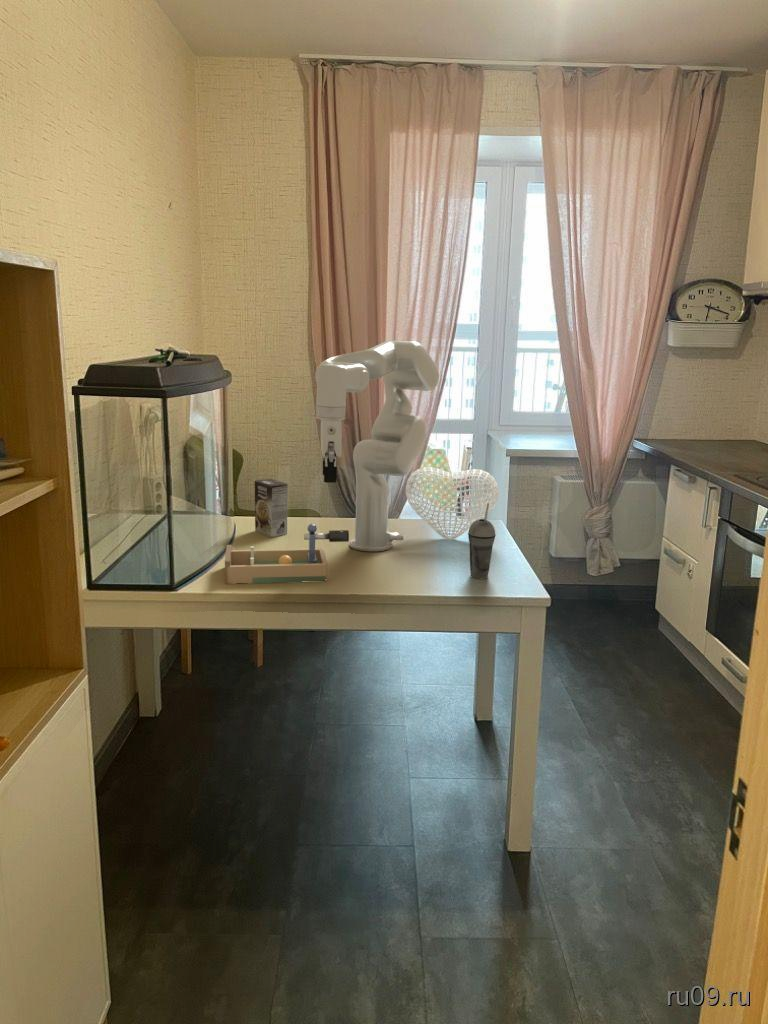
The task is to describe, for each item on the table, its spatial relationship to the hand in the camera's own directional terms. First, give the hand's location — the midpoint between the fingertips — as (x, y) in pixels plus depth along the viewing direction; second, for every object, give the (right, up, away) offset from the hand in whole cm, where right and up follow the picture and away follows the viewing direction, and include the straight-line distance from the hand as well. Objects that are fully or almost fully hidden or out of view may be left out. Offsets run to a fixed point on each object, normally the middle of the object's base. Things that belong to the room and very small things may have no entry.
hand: (329, 478), depth 205 cm
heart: (+34, -17, +36) cm, 53 cm away
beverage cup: (+40, -26, +4) cm, 47 cm away
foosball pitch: (-14, -25, +1) cm, 29 cm away
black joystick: (-1, -23, +3) cm, 23 cm away
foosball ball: (-12, -22, +1) cm, 25 cm away
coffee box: (-21, -15, +38) cm, 46 cm away
